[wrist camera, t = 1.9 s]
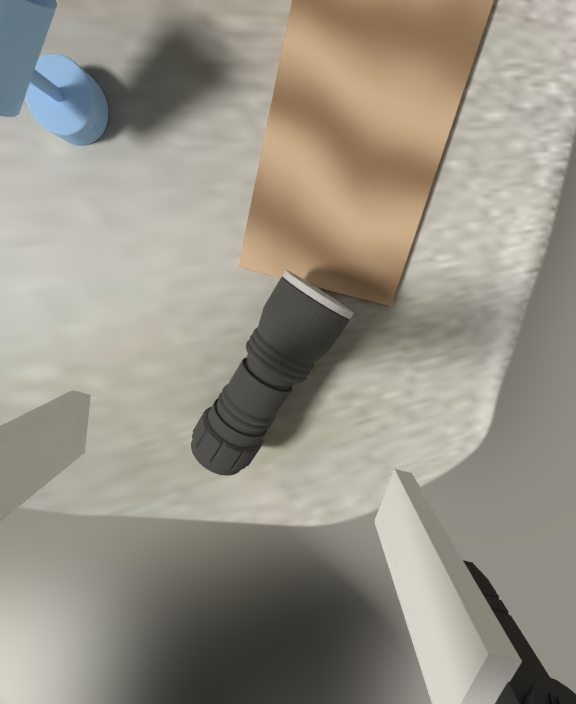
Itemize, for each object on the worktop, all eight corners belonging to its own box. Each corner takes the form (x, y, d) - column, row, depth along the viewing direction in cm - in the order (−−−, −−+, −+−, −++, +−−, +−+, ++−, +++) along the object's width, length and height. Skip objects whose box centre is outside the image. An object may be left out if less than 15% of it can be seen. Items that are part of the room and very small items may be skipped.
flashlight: (250, 452, 28) (239, 496, 22) (197, 423, 27) (172, 461, 22) (347, 306, 24) (360, 318, 18) (287, 268, 23) (283, 270, 18)
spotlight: (76, 27, 20) (24, 118, 22) (-129, -200, 10) (-200, -8, 12) (137, 86, 21) (82, 171, 22) (-3, -75, 11) (-84, 92, 13)
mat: (307, -66, 19) (307, -73, 18) (495, -11, 19) (499, -17, 19) (239, 267, 24) (238, 266, 23) (389, 306, 24) (390, 306, 24)
